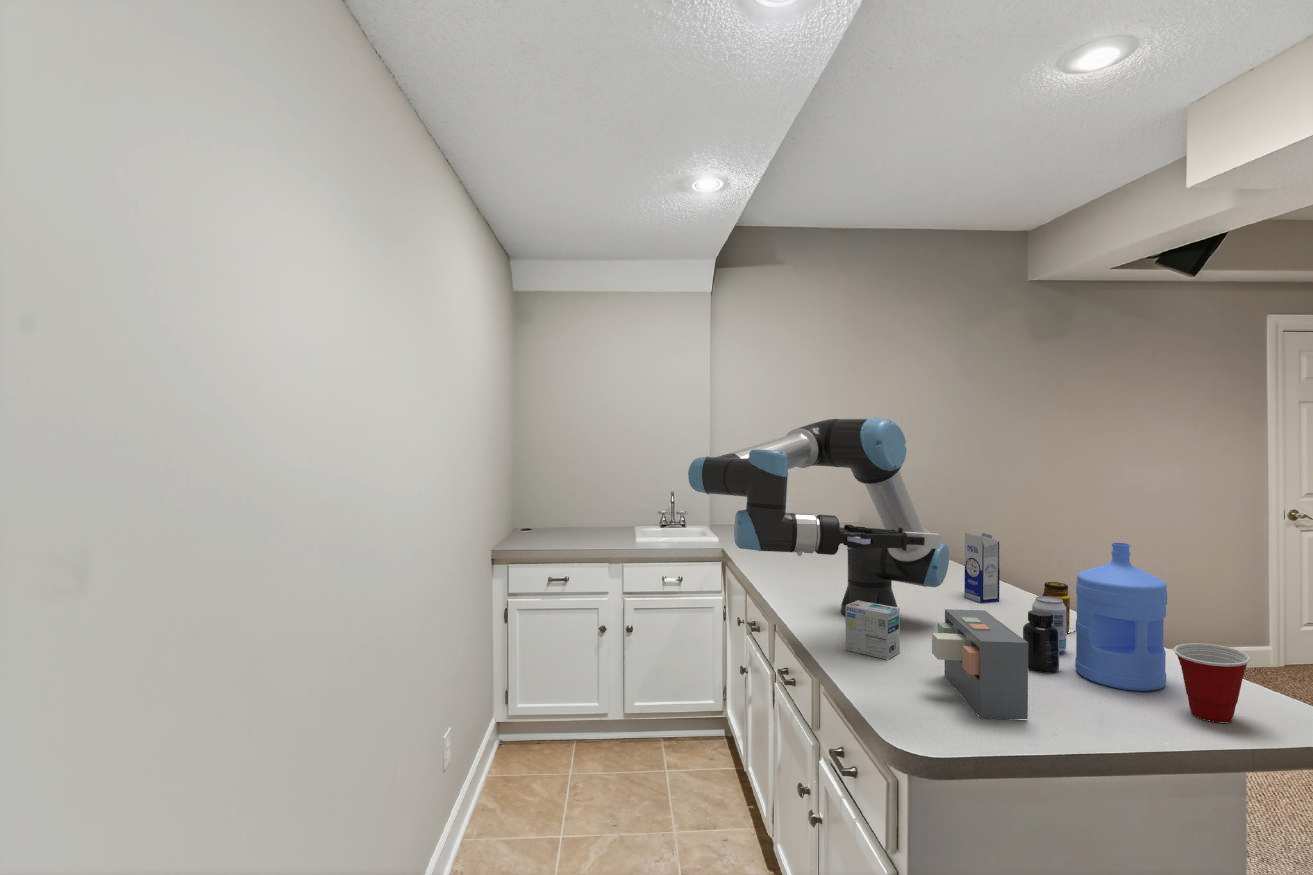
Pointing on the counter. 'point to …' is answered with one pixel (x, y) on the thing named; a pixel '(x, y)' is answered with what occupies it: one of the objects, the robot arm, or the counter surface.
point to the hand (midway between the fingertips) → (938, 541)
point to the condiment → (1059, 596)
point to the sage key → (945, 628)
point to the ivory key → (948, 646)
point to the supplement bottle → (1042, 642)
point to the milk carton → (982, 568)
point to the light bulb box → (873, 629)
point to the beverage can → (1054, 615)
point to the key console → (991, 666)
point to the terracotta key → (971, 659)
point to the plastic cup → (1212, 678)
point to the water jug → (1121, 625)
